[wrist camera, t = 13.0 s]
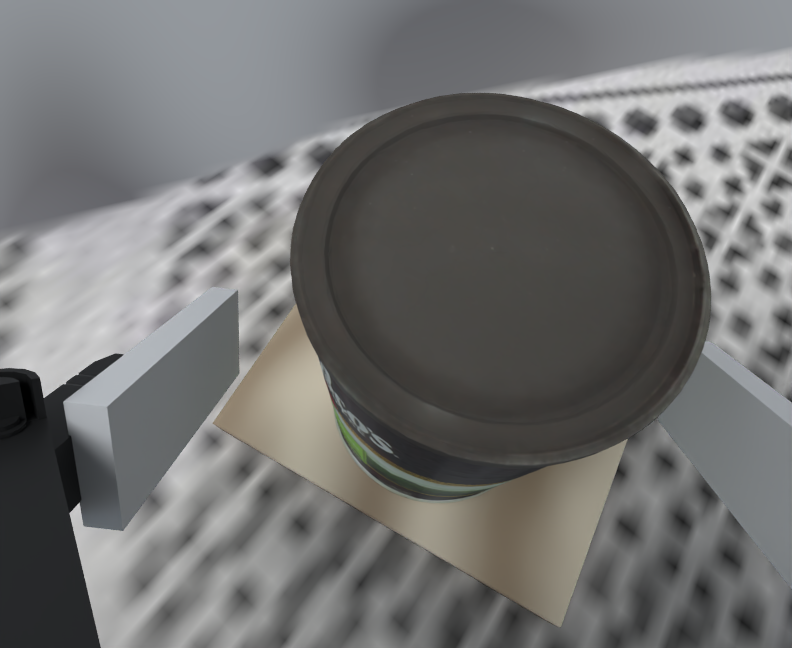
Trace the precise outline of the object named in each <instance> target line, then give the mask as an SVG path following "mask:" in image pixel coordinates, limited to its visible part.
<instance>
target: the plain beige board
mask: <svg viewBox="0 0 792 648" xmlns="http://www.w3.org/2000/svg"><path fill="white" fill-rule="evenodd" d="M213 424H214V425H216V426H217V427H219V428H220V429H221V430H223V431H225V432H227V433H228V434H230V435H232V436H233V437H235V438H237V439H238V440H240V441H242V442H244V443H245V444H247V445H249V446H250V447H252V448H254V449H255V450H257V451H259V452H260V453H262V454H264V455H266V456H267V457H269V458H271V459H272V460H274V461H276V462H277V463H279V464H281V465H283V466H284V467H286V468H288V469H289V470H291V471H293V472H294V473H296V474H298V475H300V476H301V477H303V478H305V479H306V480H308V481H310V482H311V483H313V484H315V485H317V486H318V487H320V488H322V489H323V490H325V491H327V492H328V493H330V494H332V495H334V496H335V497H337V498H339V499H340V500H342V501H344V502H345V503H347V504H349V505H350V506H352V507H354V508H356V509H357V510H359V511H361V512H362V513H364V514H366V515H367V516H369V517H371V518H373V519H374V520H376V521H378V522H379V523H381V524H383V525H384V526H386V527H388V528H390V529H391V530H393V531H395V532H396V533H398V534H400V535H401V536H403V537H405V538H407V539H408V540H410V541H412V542H413V543H415V544H417V545H418V546H420V547H422V548H423V549H425V550H427V551H429V552H430V553H432V554H434V555H435V556H437V557H439V558H440V559H442V560H444V561H446V562H447V563H449V564H451V565H452V566H454V567H456V568H457V569H459V570H461V571H463V572H464V573H466V574H468V575H469V576H471V577H473V578H474V579H476V580H478V581H480V582H481V583H483V584H485V585H486V586H488V587H490V588H491V589H493V590H495V591H497V592H498V593H500V594H502V595H503V596H505V597H507V598H508V599H510V600H512V601H513V602H515V603H517V604H519V605H520V606H522V607H524V608H525V609H527V610H529V611H530V612H532V613H534V614H536V615H537V616H539V617H541V618H542V619H544V620H546V621H547V622H549V623H551V624H553V625H555V626H557V627H560V628H561V626H562V623H563V620H564V617H565V614H566V611H567V609H568V606H569V603H570V600H571V597H572V595H573V592H574V589H575V586H576V583H577V581H578V578H579V575H580V572H581V569H582V566H583V564H584V561H585V558H586V555H587V552H588V550H589V547H590V544H591V541H592V538H593V535H594V533H595V530H596V527H597V524H598V521H599V519H600V516H601V513H602V510H603V507H604V504H605V502H606V499H607V496H608V493H609V490H610V488H611V485H612V482H613V479H614V476H615V474H616V471H617V468H618V465H619V462H620V459H621V457H622V454H623V451H624V448H625V445H626V443H627V440H628V439H626V440H624V441H623V442H621V443H619V444H617V445H615V446H612V447H610V448H608V449H606V450H604V451H601V452H599V453H596V454H594V455H591V456H588V457H585V458H582V459H578V460H574V461H570V462H567V463H562V464H557V465H551V466H547V467H545V468H542V469H540V470H537V471H535V472H532V473H529V474H527V475H524V476H522V477H519V478H516V479H514V480H511V481H509V482H506V483H504V484H502V485H499V486H497V487H494V488H492V489H491V490H489V491H487V492H485V493H483V494H481V495H479V496H477V497H474V498H470V499H467V500H462V501H458V502H451V503H428V502H420V501H416V500H412V499H408V498H405V497H402V496H400V495H397V494H395V493H393V492H391V491H389V490H387V489H386V488H384V487H383V486H381V485H379V484H378V483H377V482H375V481H374V480H373V479H372V478H370V477H369V476H368V475H367V474H366V473H365V472H364V471H363V470H362V469H361V468H360V467H359V466H358V465H357V463H356V462H355V461H354V460H353V459H352V457H351V455H350V454H349V452H348V451H347V449H346V447H345V446H344V444H343V442H342V439H341V437H340V435H339V432H338V429H337V427H336V422H335V416H334V409H333V405H332V402H331V398H330V395H329V391H328V388H327V385H326V382H325V379H324V375H323V372H322V369H321V365H320V362H319V359H318V355H317V354H316V352H315V350H314V348H313V346H312V344H311V342H310V340H309V338H308V336H307V334H306V331H305V328H304V326H303V323H302V320H301V317H300V314H299V311H298V308H297V305H296V304H295V306H294V307H293V309H292V310H291V311H290V313H289V314H288V316H287V317H286V319H285V320H284V322H283V323H282V324H281V326H280V327H279V329H278V330H277V332H276V333H275V334H274V336H273V337H272V339H271V340H270V342H269V343H268V344H267V346H266V347H265V349H264V350H263V352H262V353H261V355H260V356H259V357H258V359H257V360H256V362H255V363H254V365H253V366H252V367H251V369H250V370H249V372H248V373H247V375H246V376H245V377H244V379H243V380H242V382H241V383H240V385H239V386H238V388H237V389H236V390H235V392H234V393H233V395H232V396H231V398H230V399H229V400H228V402H227V403H226V405H225V406H224V408H223V409H222V410H221V412H220V413H219V415H218V416H217V418H216V419H215V421H214V422H213Z"/></svg>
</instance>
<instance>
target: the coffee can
mask: <svg viewBox="0 0 792 648" xmlns="http://www.w3.org/2000/svg"><path fill="white" fill-rule="evenodd" d="M290 266H291V276H292V286H293V293H294V297H295V301H296V305H297V308H298V311H299V314H300V317H301V320H302V323H303V326H304V328H305V331H306V334H307V336H308V338H309V340H310V342H311V344H312V346H313V348H314V350H315V352H316V354H317V355H318V359H319V362H320V365H321V369H322V372H323V375H324V379H325V382H326V385H327V388H328V391H329V395H330V398H331V402H332V405H333V409H334V416H335V422H336V427H337V429H338V432H339V435H340V437H341V439H342V442H343V444H344V446H345V447H346V449H347V451H348V452H349V454H350V455H351V457H352V459H353V460H354V461H355V462H356V463H357V465H358V466H359V467H360V468H361V469H362V470H363V471H364V472H365V473H366V474H367V475H368V476H369V477H370V478H372V479H373V480H374V481H375V482H377V483H378V484H379V485H381V486H383V487H384V488H386V489H387V490H389V491H391V492H393V493H395V494H397V495H400V496H402V497H405V498H408V499H412V500H416V501H420V502H428V503H451V502H458V501H462V500H467V499H470V498H474V497H477V496H479V495H481V494H483V493H485V492H487V491H489V490H491V489H492V488H494V487H497V486H499V485H502V484H504V483H506V482H509V481H511V480H514V479H516V478H519V477H522V476H524V475H527V474H529V473H532V472H535V471H537V470H540V469H542V468H545V467H547V466H551V465H557V464H562V463H567V462H570V461H574V460H578V459H582V458H585V457H588V456H591V455H594V454H596V453H599V452H601V451H604V450H606V449H608V448H610V447H612V446H615V445H617V444H619V443H621V442H623V441H624V440H626V439H628V438H630V437H631V436H633V435H635V434H636V433H638V432H639V431H641V430H642V429H644V428H645V427H646V426H648V425H649V424H650V423H651V422H653V421H654V420H655V419H656V418H657V417H658V416H659V415H660V414H662V413H663V412H664V411H665V410H666V409H667V407H668V406H669V405H670V404H671V403H672V402H673V401H674V399H675V398H676V397H677V396H678V395H679V393H680V392H681V391H682V389H683V387H684V386H685V384H686V383H687V381H688V380H689V378H690V376H691V375H692V373H693V371H694V369H695V367H696V365H697V362H698V360H699V357H700V355H701V353H702V350H703V348H704V344H705V340H706V336H707V332H708V328H709V322H710V311H711V287H710V276H709V270H708V264H707V260H706V256H705V252H704V248H703V245H702V242H701V239H700V237H699V235H698V233H697V229H696V227H695V225H694V223H693V221H692V219H691V217H690V215H689V213H688V211H687V209H686V207H685V205H684V204H683V202H682V201H681V199H680V197H679V196H678V194H677V192H676V191H675V190H674V188H673V187H672V186H671V185H670V184H669V182H668V181H667V180H666V179H665V177H664V176H663V175H662V174H661V173H660V172H659V171H658V170H657V169H656V168H655V167H654V166H653V165H652V164H651V163H650V162H649V161H648V160H647V159H646V158H645V157H644V156H643V155H642V154H641V153H639V152H638V151H637V150H636V149H635V148H634V147H632V146H631V145H630V144H628V143H627V142H626V141H624V140H623V139H622V138H620V137H619V136H617V135H616V134H614V133H613V132H611V131H609V130H608V129H606V128H605V127H603V126H601V125H599V124H597V123H595V122H593V121H591V120H589V119H587V118H585V117H583V116H581V115H579V114H577V113H574V112H572V111H569V110H566V109H564V108H562V107H559V106H555V105H552V104H548V103H544V102H540V101H536V100H533V99H529V98H524V97H518V96H512V95H506V94H496V93H460V94H452V95H445V96H439V97H434V98H430V99H425V100H422V101H419V102H415V103H413V104H409V105H406V106H404V107H401V108H398V109H395V110H393V111H391V112H389V113H386V114H384V115H382V116H380V117H378V118H376V119H375V120H373V121H371V122H369V123H367V124H366V125H364V126H363V127H362V128H360V129H359V130H357V131H356V132H354V133H353V134H352V135H350V136H349V137H348V138H347V139H346V140H344V141H343V142H342V143H341V145H340V146H339V147H337V148H336V149H335V150H334V152H333V153H332V154H331V155H330V157H329V158H328V159H327V160H326V161H325V162H324V163H323V165H322V166H321V168H320V169H319V171H318V172H317V174H316V175H315V177H314V178H313V180H312V182H311V184H310V185H309V187H308V189H307V191H306V193H305V195H304V198H303V201H302V202H301V204H300V207H299V210H298V213H297V216H296V220H295V223H294V227H293V233H292V239H291V255H290Z"/></svg>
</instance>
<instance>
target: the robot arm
mask: <svg viewBox="0 0 792 648" xmlns="http://www.w3.org/2000/svg"><path fill="white" fill-rule="evenodd" d="M238 374H239V323H238V290H235V289H226V288H217V287H211V288H210V289H209V290H207V291H206V292H205V293H204V294H202V295H201V296H200V297H198V298H197V299H196V300H194V301H193V302H192V303H191V304H189V305H188V306H187V307H185V308H184V309H183V310H182V311H180V312H179V313H178V314H176V315H175V316H174V317H172V318H171V319H170V320H169V321H167V322H166V323H165V324H163V325H162V326H161V327H159V328H158V329H157V330H156V331H154V332H153V333H152V334H150V335H149V336H148V337H147V338H145V339H144V340H143V341H141V342H140V343H139V344H137V345H136V346H135V347H134V348H132V349H131V350H130V351H128V352H127V353H126V354H113V355H111V356H108V357H106V358H103V359H100V360H98V361H95V362H93V363H92V364H91V365H89V366H88V367H86V368H85V369H84V370H82V371H81V372H80V373H79V375H75V376H74V377H73V378H71V379H70V380H68V381H67V382H66V385H65V384H63V385H62V386H60V387H59V388H57V389H56V390H55V391H53V392H52V393H50V394H49V395H48V396H46V397H45V398H43V393H42V387H41V382H40V377H39V376H38V375H37V374H36V373H35V372H32V371H29V370H26V369H14V368H6V369H0V648H101V647H100V643H99V639H98V634H97V630H96V626H95V621H94V617H93V613H92V608H91V604H90V600H89V596H88V591H87V587H86V583H85V578H84V574H83V570H82V566H81V561H80V557H79V553H78V548H77V544H76V540H75V536H74V531H73V527H72V523H71V518H70V514H69V513H70V512H71V511H72V510H73V509H74V508H75V507H76V505H77V504H78V503H79V502H80V507H81V513H82V519H83V525H84V526H86V527H95V528H103V529H112V530H121V531H123V530H124V529H125V527H126V526H127V525H128V523H129V522H130V521H131V519H132V518H133V517H134V515H135V514H136V513H137V511H138V510H139V509H140V507H141V506H142V504H143V503H144V502H145V500H146V499H147V498H148V496H149V495H150V494H151V492H152V491H153V490H154V488H155V487H156V486H157V484H158V483H159V481H160V480H161V479H162V477H163V476H164V475H165V473H166V472H167V471H168V469H169V468H170V467H171V465H172V464H173V462H174V461H175V460H176V458H177V457H178V456H179V454H180V453H181V452H182V450H183V449H184V448H185V446H186V445H187V444H188V442H189V441H190V439H191V438H192V437H193V435H194V434H195V433H196V431H197V430H198V429H199V427H200V426H201V425H202V423H203V422H204V420H205V419H206V418H207V416H208V415H209V414H210V412H211V411H212V410H213V408H214V407H215V406H216V404H217V403H218V402H219V400H220V399H221V397H222V396H223V395H224V393H225V392H226V391H227V389H228V388H229V387H230V385H231V384H232V383H233V381H234V380H235V379H236V377H237V376H238ZM658 421H659V422H660V423H661V425H662V426H663V427H664V429H665V430H666V431H667V432H668V434H669V435H670V436H671V437H672V439H673V440H674V441H675V442H676V444H677V445H678V446H679V447H680V449H681V450H682V451H683V453H684V454H685V455H686V456H687V458H688V459H689V460H690V461H691V463H692V464H693V465H694V466H695V468H696V469H697V470H698V472H699V473H700V474H701V475H702V477H703V478H704V479H705V480H706V482H707V483H708V484H709V485H710V487H711V488H712V489H713V490H714V492H715V493H716V494H717V496H718V497H719V498H720V499H721V501H722V502H723V503H724V504H725V506H726V507H727V508H728V509H729V511H730V512H731V513H732V514H733V516H734V517H735V518H736V520H737V521H738V522H739V523H740V525H741V526H742V527H743V528H744V530H745V531H746V532H747V533H748V535H749V536H750V537H751V539H752V540H753V541H754V542H755V544H756V545H757V546H758V547H759V549H760V550H761V551H762V552H763V554H764V555H765V556H766V557H767V559H768V560H769V561H770V563H771V564H772V565H773V566H774V568H775V569H776V570H777V571H778V573H779V574H780V575H781V576H782V578H783V579H784V580H785V582H786V583H787V584H788V585H789V587H790V588H791V589H792V403H791V402H790V401H789V400H788V399H786V398H785V397H784V396H782V395H781V394H780V393H778V392H777V391H776V390H774V389H773V388H772V387H770V386H769V385H768V384H766V383H765V382H764V381H762V380H761V379H760V378H758V377H757V376H756V375H755V374H753V373H752V372H751V371H749V370H748V369H747V368H745V367H744V366H743V365H741V364H740V363H739V362H737V361H736V360H735V359H733V358H732V357H731V356H729V355H728V354H727V353H725V352H724V351H723V350H721V349H720V348H719V347H718V346H716V345H715V344H714V343H712V342H707V341H705V344H704V348H703V350H702V353H701V355H700V357H699V360H698V362H697V365H696V367H695V369H694V371H693V373H692V375H691V376H690V378H689V380H688V381H687V383H686V384H685V386H684V387H683V389H682V391H681V392H680V393H679V395H678V396H677V397H676V398H675V399H674V401H673V402H672V403H671V404H670V405H669V406H668V407H667V409H666V410H665V411H664V412H663V413H662V414H660V415H659V418H658Z"/></svg>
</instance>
